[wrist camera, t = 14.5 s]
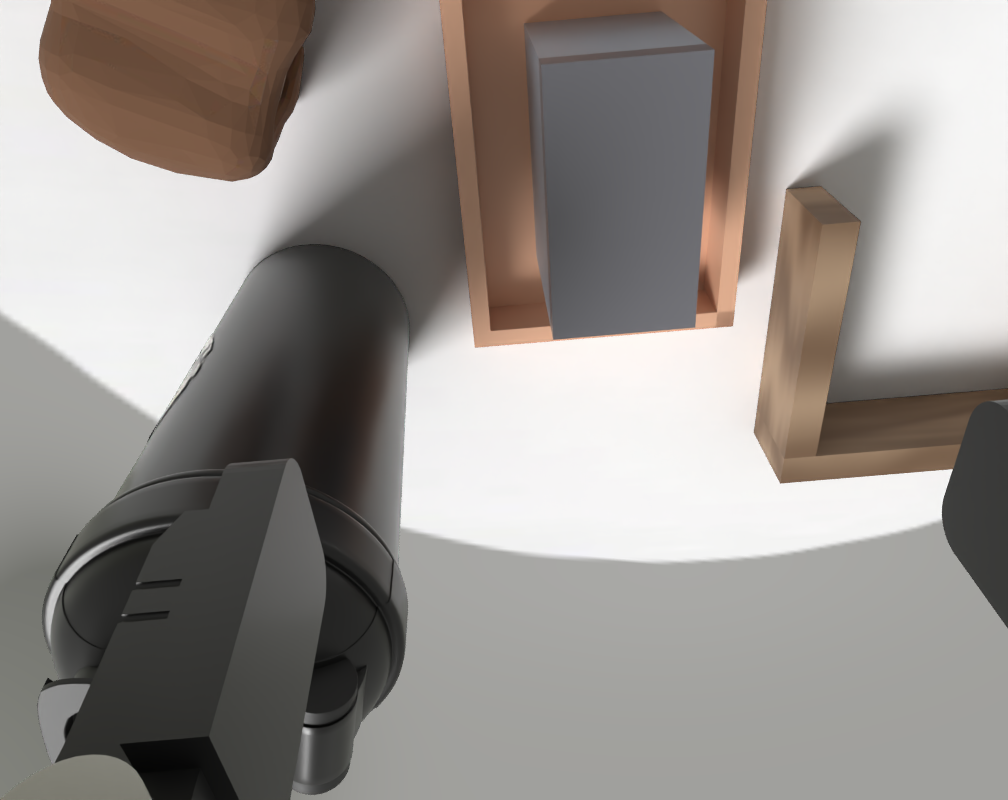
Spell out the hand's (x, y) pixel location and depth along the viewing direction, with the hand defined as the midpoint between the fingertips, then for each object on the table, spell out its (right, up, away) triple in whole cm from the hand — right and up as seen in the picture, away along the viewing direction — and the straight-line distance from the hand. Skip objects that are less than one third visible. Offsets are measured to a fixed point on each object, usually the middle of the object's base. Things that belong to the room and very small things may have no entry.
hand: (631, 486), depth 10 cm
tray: (+2, +13, +25) cm, 28 cm away
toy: (-12, +19, +21) cm, 30 cm away
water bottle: (-11, +5, +30) cm, 32 cm away
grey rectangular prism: (+2, +12, +25) cm, 28 cm away
